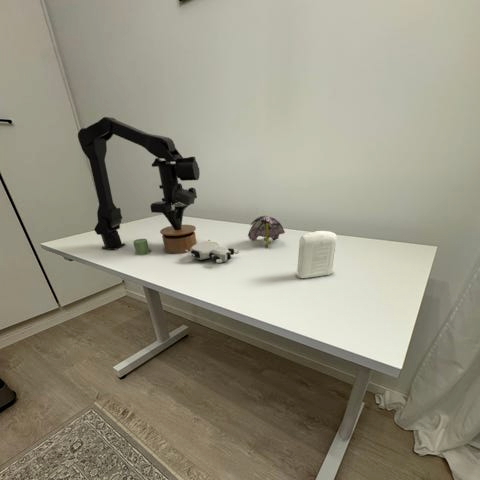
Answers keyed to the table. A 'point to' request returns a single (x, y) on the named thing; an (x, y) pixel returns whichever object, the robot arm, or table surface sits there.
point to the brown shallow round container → (179, 243)
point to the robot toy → (211, 251)
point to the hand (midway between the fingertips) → (177, 227)
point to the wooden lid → (178, 229)
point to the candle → (141, 246)
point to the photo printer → (316, 254)
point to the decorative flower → (265, 229)
